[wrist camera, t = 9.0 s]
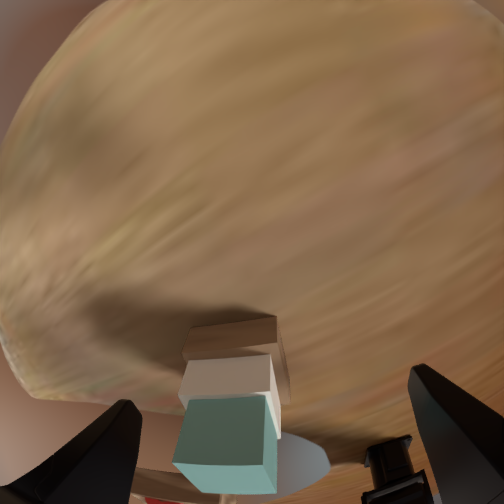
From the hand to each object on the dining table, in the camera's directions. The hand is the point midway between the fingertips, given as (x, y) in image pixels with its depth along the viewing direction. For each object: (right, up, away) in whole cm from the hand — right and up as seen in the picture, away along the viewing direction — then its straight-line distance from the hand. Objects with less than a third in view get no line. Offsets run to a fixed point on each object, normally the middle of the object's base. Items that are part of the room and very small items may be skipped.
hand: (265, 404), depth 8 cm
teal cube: (-2, -7, +10) cm, 12 cm away
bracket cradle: (-11, -35, +28) cm, 46 cm away
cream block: (-2, -6, +13) cm, 14 cm away
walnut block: (-1, -4, +16) cm, 17 cm away
